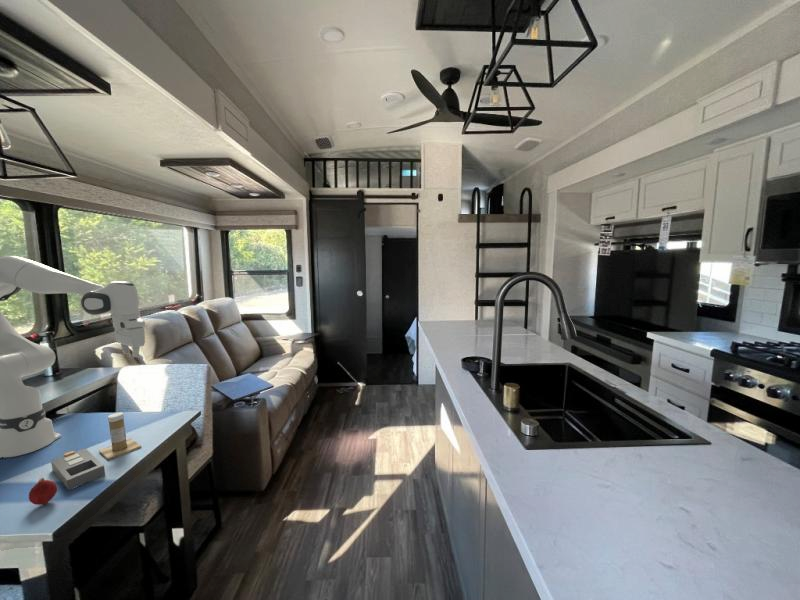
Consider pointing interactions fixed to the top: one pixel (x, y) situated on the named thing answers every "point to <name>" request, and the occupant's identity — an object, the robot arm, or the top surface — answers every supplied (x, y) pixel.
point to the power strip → (77, 468)
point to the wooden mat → (111, 454)
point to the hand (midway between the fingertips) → (131, 355)
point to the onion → (42, 492)
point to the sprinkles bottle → (117, 431)
